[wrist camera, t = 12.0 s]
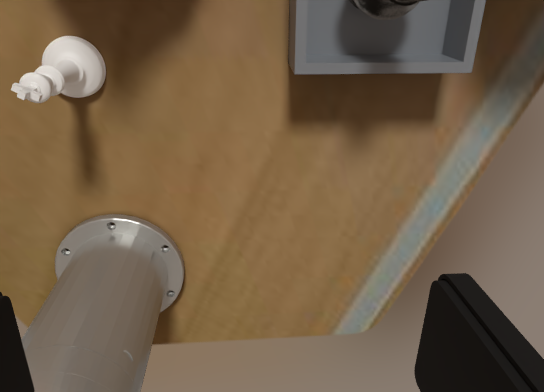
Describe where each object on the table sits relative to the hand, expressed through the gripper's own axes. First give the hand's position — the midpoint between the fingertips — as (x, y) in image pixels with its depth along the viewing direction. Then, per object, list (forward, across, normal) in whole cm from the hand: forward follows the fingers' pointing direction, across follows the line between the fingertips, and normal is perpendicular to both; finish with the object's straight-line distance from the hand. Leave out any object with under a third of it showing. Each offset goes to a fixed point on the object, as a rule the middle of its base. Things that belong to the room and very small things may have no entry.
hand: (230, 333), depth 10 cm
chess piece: (+31, +13, -2) cm, 34 cm away
